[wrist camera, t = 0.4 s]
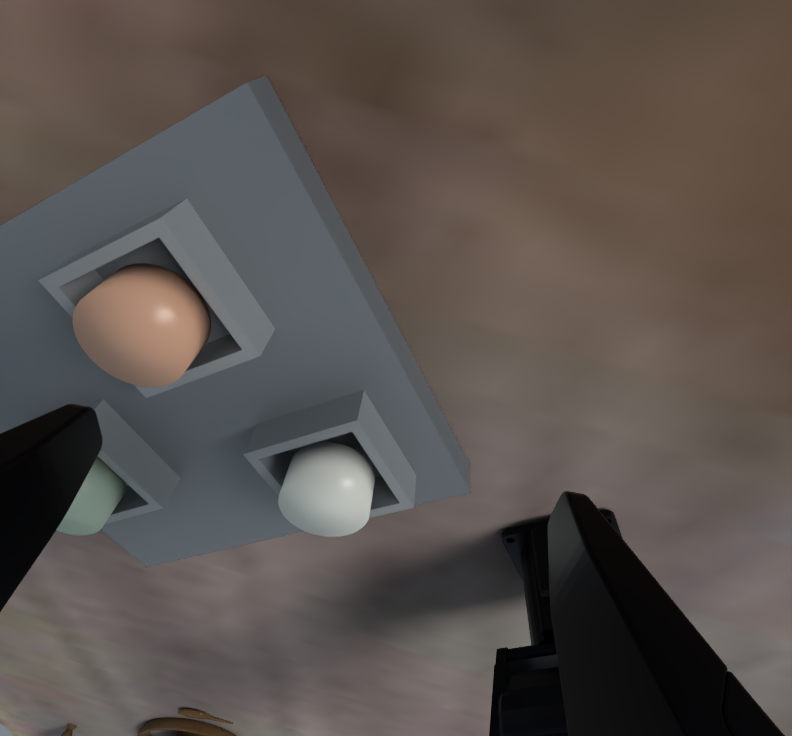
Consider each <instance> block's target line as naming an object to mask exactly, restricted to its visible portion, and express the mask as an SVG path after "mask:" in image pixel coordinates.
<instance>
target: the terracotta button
mask: <svg viewBox="0 0 792 736" xmlns="http://www.w3.org/2000/svg"><path fill="white" fill-rule="evenodd" d="M211 326H212V324H211V316H210V312H209V310H208V307H207V305H206V303H205V301H204V299H203V298H202V296H201V295H200V294H199V292H198V291H197V290H196V289H195V288H194V287H193V286H192V285H191V284H190V283H189V282H188V281H187V280H185V279H184V278H183V277H181V276H180V275H178V274H176V273H175V272H173V271H171V270H169V269H166V268H164V267H161V266H157V265H153V264H146V263H137V264H130V265H127V266H124V267H122V268H120V269H118V270H117V271H116V272H114V273H113V274H112V275H111V276H109V277H108V278H107V279H106V280H104V281H103V282H102V283H101V284H99V285H98V286H97V287H95V288H94V289H93V290H92V291H90V292H89V293H88V294H87V295H85V296H84V297H83V298H82V299H81V300H80V301H79V302H78V304H77V305H76V307H75V309H74V313H73V329H74V333H75V336H76V338H77V340H78V342H79V344H80V346H81V347H82V349H83V350H84V352H85V353H86V354H87V355H88V357H89V358H90V359H91V360H92V361H93V362H94V363H95V364H96V365H98V366H99V367H100V368H101V369H103V370H104V371H105V372H107V373H108V374H110V375H112V376H114V377H115V378H118V379H120V380H122V381H124V382H127V383H130V384H134V385H138V386H143V387H160V386H165V385H168V384H171V383H173V382H175V381H176V380H178V379H179V378H180V377H181V376H182V375H183V374H184V372H185V371H186V370H187V368H188V367H189V366H190V364H191V363H192V361H193V360H194V359H195V357H196V356H197V355H198V353H199V352H200V350H201V349H202V348H203V346H204V345H205V343H206V342H207V341H208V338H209V336H210V333H211Z"/></svg>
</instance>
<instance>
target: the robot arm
mask: <svg viewBox="0 0 792 736" xmlns="http://www.w3.org/2000/svg"><path fill="white" fill-rule="evenodd" d="M102 444H103V437H102V433H101V429H100V426H99V422H98V418H97V414H96V411H95V410H94V409H93V408H92V407H90V406H84V405H79V404H67V405H65V406H62V407H60V408H58V409H55V410H53V411H51V412H49V413H46V414H44V415H42V416H39V417H37V418H35V419H33V420H30V421H28V422H26V423H23V424H21V425H19V426H17V427H14V428H12V429H10V430H7V431H5V432H3V433H1V434H0V612H1V610H2V609H3V607H4V606H5V604H6V603H7V601H8V600H9V598H10V597H11V595H12V594H13V593H14V591H15V590H16V588H17V587H18V585H19V584H20V582H21V581H22V579H23V578H24V576H25V575H26V574H27V572H28V571H29V569H30V568H31V566H32V565H33V563H34V562H35V560H36V559H37V557H38V556H39V555H40V553H41V552H42V550H43V549H44V547H45V546H46V544H47V543H48V541H49V540H50V538H51V537H52V535H53V534H54V533H55V531H56V530H57V528H58V526H59V525H60V523H61V522H62V520H63V519H64V517H65V515H66V513H67V512H68V510H69V508H70V506H71V505H72V503H73V501H74V499H75V497H76V495H77V493H78V492H79V490H80V488H81V486H82V484H83V482H84V480H85V479H86V477H87V475H88V473H89V471H90V469H91V467H92V466H93V464H94V462H95V460H96V458H97V456H98V454H99V453H100V450H101V448H102ZM501 535H502V542H503V544H504V546H505V548H506V550H507V552H508V553H509V555H510V557H511V559H512V561H513V563H514V565H515V566H516V568H517V570H518V572H519V574H520V576H521V578H522V579H523V583H524V591H525V599H526V607H527V614H528V622H529V630H530V638H531V646H525V647H519V648H512V649H508V648H507V647H506V648H500V649H497V653H496V665H495V666H494V679H493V692H492V706H491V720H490V733H489V736H785V735H784V734H783V733H782V732H781V731H780V730H779V729H778V727H777V726H776V725H775V724H774V723H773V721H772V720H771V719H770V718H769V717H768V716H767V714H766V713H765V712H764V711H763V710H762V708H761V707H760V706H759V705H758V704H757V703H756V701H755V700H754V699H753V698H752V697H751V695H750V694H749V693H748V692H747V691H746V689H745V688H744V687H743V686H742V684H741V683H740V682H739V681H738V680H737V678H736V677H735V676H734V675H733V673H732V672H729V671H727V666H726V665H725V664H724V663H723V661H722V660H721V659H720V658H719V657H718V655H717V654H716V653H715V652H714V650H713V649H712V648H711V647H710V645H709V644H708V643H707V642H706V641H705V639H704V638H703V637H702V636H701V634H700V633H699V632H698V631H697V630H696V628H695V627H694V626H693V625H692V623H691V622H690V621H689V620H688V619H687V617H686V616H685V615H684V614H683V612H682V611H681V610H680V609H679V608H678V606H677V605H676V604H675V603H674V601H673V600H672V599H671V598H670V596H669V595H668V594H667V593H666V592H665V590H664V589H663V588H662V587H661V585H660V584H659V583H658V582H657V581H656V579H655V578H654V577H653V576H652V574H651V573H650V572H649V571H648V570H647V568H646V567H645V566H644V565H643V563H642V562H641V561H640V560H639V559H638V557H637V556H636V555H635V554H634V552H633V551H632V550H631V549H630V547H629V546H628V545H627V544H626V543H625V541H624V540H623V539H622V536H621V533H620V530H619V527H618V524H617V521H616V518H615V515H614V513H613V512H612V511H609V510H602V511H599V510H598V508H597V507H596V506H595V505H594V503H593V502H592V501H591V500H590V499H589V497H587V496H586V495H584V494H580V493H575V492H569V491H565V492H563V493H562V494H561V496H560V498H559V500H558V502H557V504H556V506H555V508H554V510H553V512H552V514H551V516H550V519H549V521H548V522H543V523H538V524H533V525H528V526H523V527H518V528H513V529H508V530H505V531H503V532H502V534H501Z"/></svg>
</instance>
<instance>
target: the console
mask: <svg viewBox="0 0 792 736" xmlns="http://www.w3.org/2000/svg"><path fill="white" fill-rule="evenodd" d="M137 263H146V264H153V265H157V266H161V267H164V268H166V269H169V270H171V271H173V272H175V273H176V274H178V275H180V276H181V277H183V278H184V279H185V280H187V281H188V282H189V283H190V284H191V285H192V286H193V287H194V288H195V289H196V290H197V291H198V292H199V294H200V295H201V296H202V298H203V299H204V301H205V303H206V305H207V307H208V310H209V312H210V316H211V324H212V326H211V333H210V336H209V338H208V341H207V342H206V343H205V345H204V346H203V348H202V349H201V350H200V352H199V353H198V355H197V356H196V357H195V359H194V360H193V361H192V363H191V364H190V366H189V367H188V368H187V370H186V371H185V372H184V374H183V375H182V376H181V377H180V378H179V379H178V380H176V381H175V382H173V383H171V384H168V385H165V386H160V387H143V386H138V385H134V384H130V383H127V382H124V381H122V380H120V379H118V378H115V377H114V376H112V375H110V374H108V373H107V372H105V371H104V370H103V369H101V368H100V367H99V366H98V365H96V364H95V363H94V362H93V361H92V360H91V359H90V358H89V357H88V355H87V354H86V353H85V352H84V350H83V349H82V347H81V346H80V344H79V342H78V340H77V338H76V336H75V333H74V329H73V313H74V309H75V307H76V305H77V304H78V302H79V301H80V300H81V299H82V298H83V297H84V296H85V295H87V294H88V293H89V292H90V291H92V290H93V289H94V288H95V287H97V286H98V285H99V284H101V283H102V282H103V281H104V280H106V279H107V278H108V277H109V276H111V275H112V274H113V273H114V272H116V271H117V270H118V269H120V268H122V267H124V266H127V265H130V264H137ZM67 404H79V405H84V406H90V407H92V408H93V409H94V410H95V411H96V414H97V418H98V422H99V426H100V429H101V433H102V437H103V444H102V448H101V450H100V453H99V454H98V457H99V458H100V459H101V460H102V461H104V462H105V463H106V464H107V465H108V466H109V467H110V468H111V469H112V470H113V471H114V472H115V473H116V474H117V475H119V476H120V477H121V478H122V479H123V480H124V481H125V482H126V492H125V494H124V496H123V497H122V499H121V500H120V502H119V503H118V505H117V506H116V508H115V509H114V511H113V512H112V514H111V515H110V517H109V518H108V520H107V521H106V523H105V524H104V526H103V527H102V528H101V530H102V531H103V532H104V533H106V534H107V535H108V536H109V537H110V538H112V539H113V540H114V541H115V542H116V543H118V544H119V545H120V546H121V547H122V548H124V549H125V550H126V551H127V552H128V553H130V554H131V555H132V556H133V557H134V558H136V559H137V560H138V561H139V562H140V563H142V564H143V565H144V566H145V567H150V566H154V565H158V564H163V563H167V562H172V561H176V560H180V559H185V558H189V557H193V556H198V555H202V554H206V553H211V552H215V551H219V550H224V549H228V548H233V547H237V546H241V545H246V544H250V543H254V542H259V541H263V540H267V539H272V538H276V537H280V536H285V535H289V534H294V533H298V532H302V531H303V530H301V529H299V528H298V527H296V526H294V525H293V524H292V523H290V522H289V521H288V520H287V519H286V518H285V517H284V515H283V514H282V512H281V511H280V508H279V505H278V497H279V493H280V491H281V488H282V485H283V482H284V479H285V476H286V473H287V471H288V468H289V465H290V462H291V459H292V457H293V456H294V454H295V453H296V452H297V451H298V450H300V449H301V448H303V447H305V446H307V445H310V444H313V443H319V442H332V443H338V444H342V445H346V446H348V447H351V448H353V449H355V450H357V451H358V452H360V453H361V454H362V455H364V456H365V457H366V458H367V459H368V460H369V462H370V463H371V465H372V466H373V468H374V471H375V484H374V490H373V496H372V502H371V509H370V515H369V518H371V517H375V516H380V515H384V514H389V513H393V512H397V511H402V510H406V509H410V508H414V506H416V505H420V504H424V503H429V502H433V501H437V500H442V499H446V498H450V497H455V496H459V495H464V494H468V493H471V485H470V464H469V462H468V460H467V458H466V456H465V454H464V452H463V450H462V448H461V446H460V444H459V443H458V441H457V439H456V437H455V435H454V433H453V431H452V429H451V427H450V425H449V423H448V421H447V420H446V418H445V416H444V414H443V412H442V410H441V408H440V406H439V404H438V402H437V400H436V399H435V397H434V395H433V393H432V391H431V389H430V387H429V385H428V383H427V381H426V379H425V377H424V376H423V374H422V372H421V370H420V368H419V366H418V364H417V362H416V360H415V358H414V356H413V355H412V353H411V351H410V349H409V347H408V345H407V343H406V341H405V339H404V337H403V335H402V333H401V332H400V330H399V328H398V326H397V324H396V322H395V320H394V318H393V316H392V314H391V312H390V311H389V309H388V307H387V305H386V303H385V301H384V299H383V297H382V295H381V293H380V291H379V289H378V288H377V286H376V284H375V282H374V280H373V278H372V276H371V274H370V272H369V270H368V268H367V267H366V265H365V263H364V261H363V259H362V257H361V255H360V253H359V251H358V249H357V247H356V245H355V244H354V242H353V240H352V238H351V236H350V234H349V232H348V230H347V228H346V226H345V224H344V222H343V221H342V219H341V217H340V215H339V213H338V211H337V209H336V207H335V205H334V203H333V201H332V200H331V198H330V196H329V194H328V192H327V190H326V188H325V186H324V184H323V182H322V180H321V178H320V177H319V175H318V173H317V171H316V169H315V167H314V165H313V163H312V161H311V159H310V157H309V156H308V154H307V152H306V150H305V148H304V146H303V144H302V142H301V140H300V138H299V136H298V134H297V133H296V131H295V129H294V127H293V125H292V123H291V121H290V119H289V117H288V115H287V113H286V112H285V110H284V108H283V106H282V104H281V102H280V100H279V98H278V96H277V94H276V92H275V90H274V89H273V87H272V85H271V83H270V81H269V79H268V77H267V75H265V76H263V77H260V78H257V79H255V80H252V81H249V82H247V83H245V84H243V85H242V86H240V87H238V88H237V89H235V90H233V91H231V92H230V93H228V94H226V95H225V96H223V97H221V98H219V99H218V100H216V101H214V102H212V103H211V104H209V105H207V106H206V107H204V108H202V109H200V110H199V111H197V112H195V113H194V114H192V115H190V116H188V117H187V118H185V119H183V120H181V121H180V122H178V123H176V124H175V125H173V126H171V127H169V128H168V129H166V130H164V131H163V132H161V133H159V134H157V135H156V136H154V137H152V138H151V139H149V140H147V141H145V142H144V143H142V144H140V145H138V146H137V147H135V148H133V149H132V150H130V151H128V152H126V153H125V154H123V155H121V156H120V157H118V158H116V159H114V160H113V161H111V162H109V163H107V164H106V165H104V166H102V167H101V168H99V169H97V170H95V171H94V172H92V173H90V174H89V175H87V176H85V177H83V178H82V179H80V180H78V181H76V182H75V183H73V184H71V185H70V186H68V187H66V188H64V189H63V190H61V191H59V192H58V193H56V194H54V195H52V196H51V197H49V198H47V199H46V200H44V201H42V202H40V203H39V204H37V205H35V206H33V207H32V208H30V209H28V210H27V211H25V212H23V213H21V214H20V215H18V216H16V217H15V218H13V219H11V220H9V221H8V222H6V223H4V224H2V225H1V226H0V434H1V433H3V432H5V431H7V430H10V429H12V428H14V427H17V426H19V425H21V424H23V423H26V422H28V421H30V420H33V419H35V418H37V417H39V416H42V415H44V414H46V413H49V412H51V411H53V410H55V409H58V408H60V407H62V406H65V405H67Z"/></svg>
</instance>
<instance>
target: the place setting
mask: <svg viewBox="0 0 792 736" xmlns="http://www.w3.org/2000/svg"><path fill="white" fill-rule="evenodd" d="M178 713H179V714H181V715H184V716H187V717H190V718H198V719H209V720H214V721H220V722H225V723H230V724H233V722H230V721H226V720H223V719H219V718H216V717H213V716H211V715H209V714H207V713H205V712H203V711H200V710H197V709H192V708H183V709H180V710H179V711H178ZM199 713H201V714H203V715H200V714H199ZM67 726H68V729H67V730H66V731H65V732H64V733H63V734H62V735H61V736H72V730H73V729H75V728H76V727H77V726H76V725H74V724H67ZM155 730H177V731H185V732H181V733H178V734H177V736H236V735H235V734H233V733H231V732H229V731H227V730H225V729H223V728H221V727H218V726H215V725H212V724H209V723H205V722H201V721H197V720H192V719H185V718H158V719H154V720H151V721H149V722H147V723H146V724H145V725H144V726H143V727H142V728H141V730H140V731H139V733H138V736H152V735H151V734H150V732H149V731H155Z"/></svg>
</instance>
